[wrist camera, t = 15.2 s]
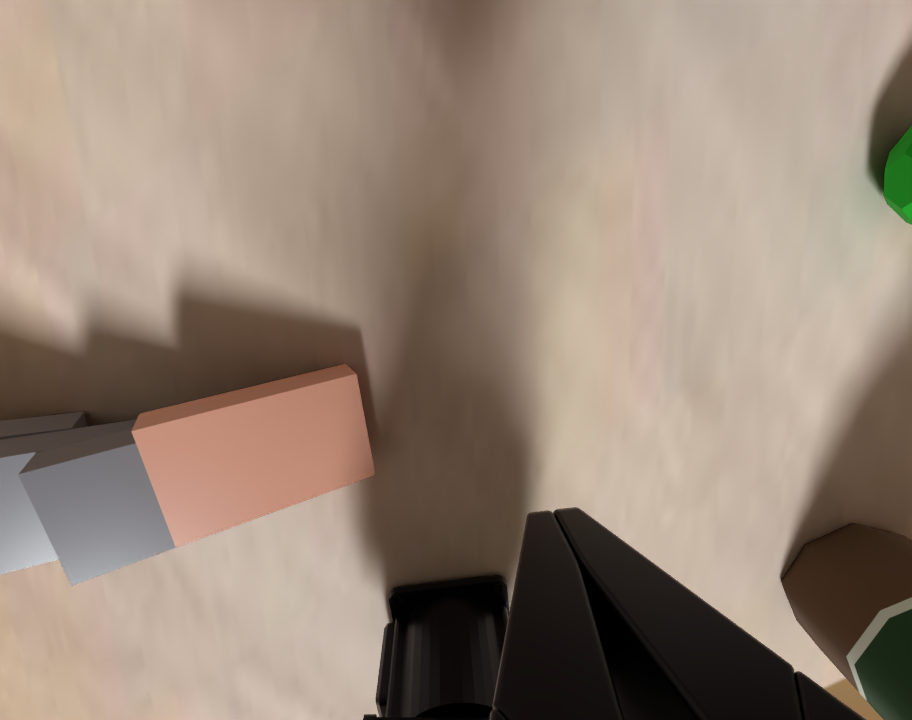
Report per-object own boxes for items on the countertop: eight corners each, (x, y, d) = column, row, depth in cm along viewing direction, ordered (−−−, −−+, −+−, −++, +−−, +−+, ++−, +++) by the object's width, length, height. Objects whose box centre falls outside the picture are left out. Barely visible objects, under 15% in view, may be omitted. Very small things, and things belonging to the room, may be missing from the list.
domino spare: (356, 373, 18) (131, 431, 15) (375, 474, 20) (175, 547, 16) (345, 363, 20) (139, 413, 16) (364, 458, 21) (179, 521, 18)
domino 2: (262, 409, 18) (17, 474, 15) (287, 506, 20) (71, 585, 16) (258, 397, 20) (35, 453, 16) (281, 487, 22) (83, 556, 18)
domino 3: (162, 431, 18) (-119, 477, 15) (180, 527, 20) (-70, 592, 16) (165, 414, 20) (-89, 453, 16) (182, 505, 21) (-47, 560, 18)
